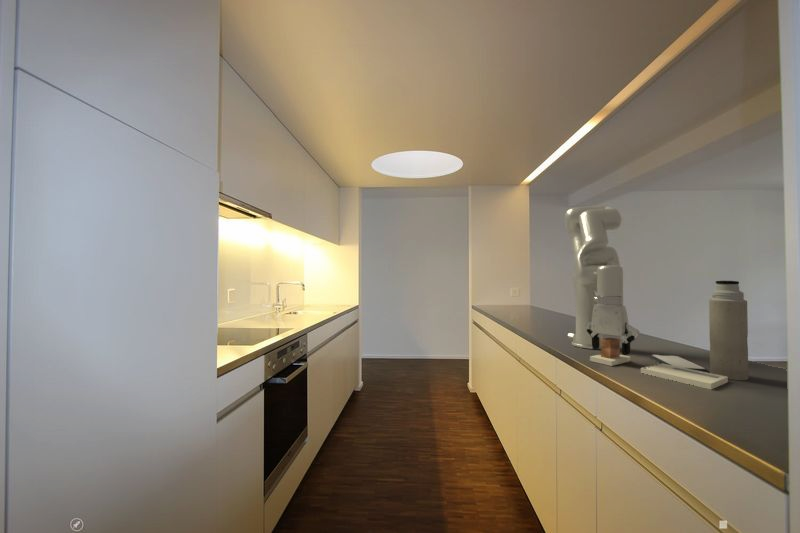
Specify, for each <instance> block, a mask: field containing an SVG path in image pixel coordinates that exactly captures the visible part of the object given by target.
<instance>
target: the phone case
mask: <svg viewBox="0 0 800 533" xmlns="http://www.w3.org/2000/svg"><path fill="white" fill-rule="evenodd" d="M651 358H652V359H651ZM650 359H651V360H653V359H654V361H655V360H656V362H657V363H663V364H668V365H672V366H677V367H682V368H687V369H692V370H697V371H702V372H707V368H705V367H703V366H700V365H699V364H696V363H694V362H692V361H689V360H687V359H685V358H682V357H681V356H678V355H666V354H650ZM707 373H708V372H707Z"/></svg>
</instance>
